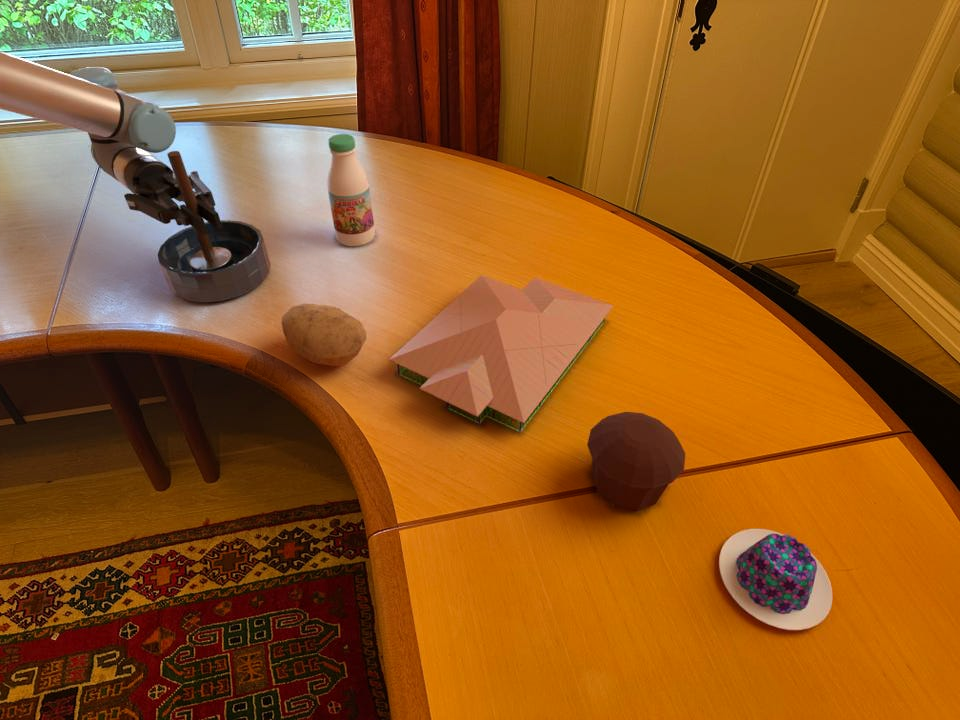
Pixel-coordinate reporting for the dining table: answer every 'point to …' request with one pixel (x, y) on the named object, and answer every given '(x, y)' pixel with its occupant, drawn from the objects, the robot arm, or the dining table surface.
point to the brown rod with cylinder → (208, 255)
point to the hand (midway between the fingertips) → (210, 223)
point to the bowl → (222, 282)
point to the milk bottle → (349, 194)
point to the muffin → (634, 459)
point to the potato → (323, 333)
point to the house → (502, 346)
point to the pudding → (775, 579)
